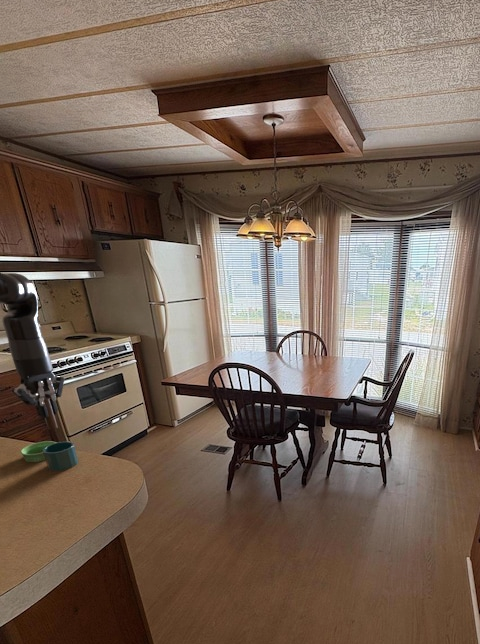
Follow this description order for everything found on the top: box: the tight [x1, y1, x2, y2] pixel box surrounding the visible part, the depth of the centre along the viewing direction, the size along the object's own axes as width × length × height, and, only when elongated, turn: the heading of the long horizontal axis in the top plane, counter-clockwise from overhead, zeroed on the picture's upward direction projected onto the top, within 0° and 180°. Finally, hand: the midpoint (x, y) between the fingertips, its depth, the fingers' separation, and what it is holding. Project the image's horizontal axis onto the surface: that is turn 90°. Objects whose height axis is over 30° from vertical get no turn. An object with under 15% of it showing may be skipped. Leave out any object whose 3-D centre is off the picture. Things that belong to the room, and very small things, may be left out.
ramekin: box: [20, 440, 57, 463], centre depth 107 cm, size 9×9×4 cm
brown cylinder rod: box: [43, 397, 59, 431], centre depth 96 cm, size 2×2×9 cm
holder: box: [42, 441, 80, 472], centre depth 102 cm, size 7×7×8 cm
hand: (49, 415), depth 96 cm, fingers closed on brown cylinder rod, 2 cm apart
